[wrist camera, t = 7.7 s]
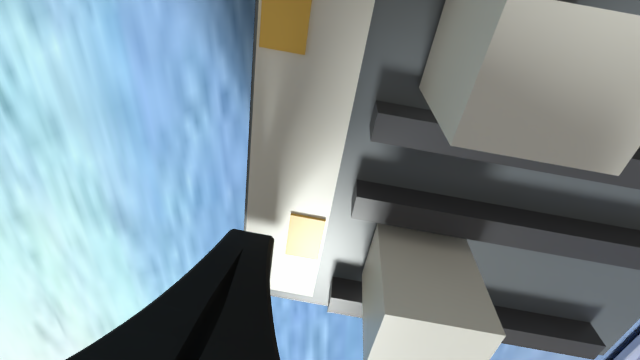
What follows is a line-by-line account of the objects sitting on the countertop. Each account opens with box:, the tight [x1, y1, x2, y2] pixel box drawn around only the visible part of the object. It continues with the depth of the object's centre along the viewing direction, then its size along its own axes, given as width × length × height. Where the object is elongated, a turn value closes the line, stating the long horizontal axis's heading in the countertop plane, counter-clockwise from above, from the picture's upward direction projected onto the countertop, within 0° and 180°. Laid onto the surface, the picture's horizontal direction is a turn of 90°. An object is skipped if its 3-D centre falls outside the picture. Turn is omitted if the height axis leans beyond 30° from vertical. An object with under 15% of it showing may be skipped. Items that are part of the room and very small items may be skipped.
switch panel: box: [244, 0, 640, 360], centre depth 9 cm, size 15×21×3 cm
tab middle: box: [419, 0, 640, 176], centre depth 7 cm, size 3×2×4 cm
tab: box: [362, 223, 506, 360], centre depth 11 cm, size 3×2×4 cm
